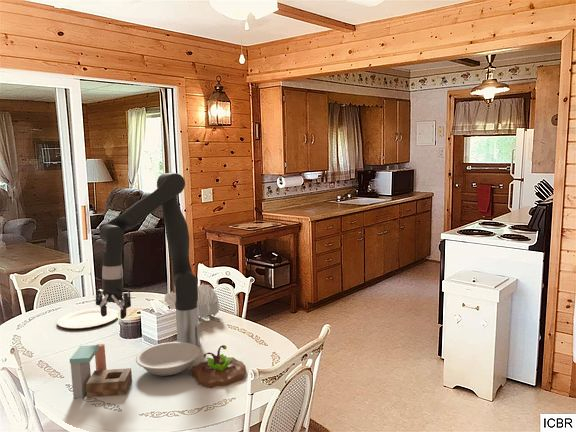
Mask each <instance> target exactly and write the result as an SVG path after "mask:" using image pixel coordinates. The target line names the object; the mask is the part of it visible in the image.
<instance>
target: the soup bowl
mask: <svg viewBox="0 0 576 432" xmlns="http://www.w3.org/2000/svg"><path fill="white" fill-rule="evenodd" d="M200 353H201V350H200V348H199V347H197V346H196V345H194V344H191V343H186V342H177V341H168V342H162V343H158V344H154V345H151V346H148V347H147V348H144V349H142V350H141V351H139V352H138V354H137V355H136V357H135V363H136V364H137V365H138V366H140V367H141V368H143V369H144V370H146V372H148V373H150V374H152V375H157V376H172V375H176V374H180V373H181V372H184V371H185V370H186V369H188V368H189V367H190V366H191V365H192V364H193V362H194V361H196V359H198V357H199V356H200Z"/></svg>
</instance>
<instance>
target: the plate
mask: <svg viewBox="0 0 576 432" xmlns="http://www.w3.org/2000/svg"><path fill="white" fill-rule="evenodd" d="M117 313H119V311H118V310H116V309H112V308H108V307H107V315H106V316H104V317H102V315H101V307H100V308H98V307H97V308H95V307H94V308H87V309H81V310H77V311H72V312H70V313H67V314H66V315H63V316H61V317H60V318H59V319H58V320H57V322H56V324H57V326H58V327H61V328H64V329H71V330H74V329H75V330H76V329H77V330H80V329H81V330H82V329H89V328H94V327H99V326H103V325H106V324H108V323H111V322H113V321H114V320H116V319H118V317H117Z"/></svg>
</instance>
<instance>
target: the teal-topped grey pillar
mask: <svg viewBox="0 0 576 432" xmlns="http://www.w3.org/2000/svg"><path fill="white" fill-rule="evenodd" d="M98 350H99V345H97V344H94V345H93V344H92V345H80V346H79V347H78V348H77V349H76V351H75V352H74V353H73V355H72V356H71V357H69V364H70V370H71V371H70V373H71V383H72V385H71V386H72V395H73V399H82V398H84V396H85V394H87V390H86V383H87V382H88V380H89V378H90V377H91V375H92V372H91V361H92V360H93V359H94V358H95V354H96V353H97V351H98Z"/></svg>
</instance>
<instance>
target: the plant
mask: <svg viewBox="0 0 576 432" xmlns="http://www.w3.org/2000/svg"><path fill="white" fill-rule="evenodd" d="M227 348H228V347H227V345H224V344H222V345H220V346H219V348H218V349H217V353H216V354H214V353H213V352H210V351H209V352H206V353H204V354H202V358H203V359H207V360H206V361H200V362H198V364H196V365H193V366H192V367H191V369H190V373H191V375H190V376H192V377H193V378H194V379H195V380H196V381H197V385H198V386H201V387H203V388H208V389H213V388H215V387H227V386H229V385H231V384H235V383H237V382H239V381H242V380H245V379H246V376H245V375H246V373H247V367H246V365H245V363H243V361H241V360H238V359H236V358H234V356H233V357H231V356H230V357H227V355H224V354H223V353H222V354H221V349H223V350H227ZM207 355H211V357H209V356H208V357H207ZM206 357H207V358H206Z"/></svg>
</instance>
